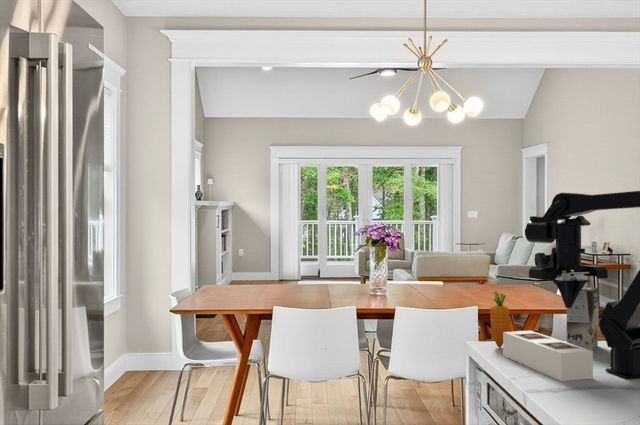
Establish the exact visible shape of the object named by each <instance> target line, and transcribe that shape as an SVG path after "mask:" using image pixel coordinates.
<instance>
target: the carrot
mask: <svg viewBox="0 0 640 425" xmlns="http://www.w3.org/2000/svg"><path fill="white" fill-rule="evenodd" d="M493 294H494V297H493V298H492V300H493V301H494V302H495V303H496V304H494V305H493V304H492V306H491V307H490V310H489V312H490V313H489V315H490V329H491V334H492V337H493V339H494V342H495V345H496V346H497V347H498V348H499V349H500V348H502V347H503V332H508V328H509V317H510V309H509V307H508V306H507V305H505V304H504V302H505V299H506V297H507V295H506V294H503V293H500V294H499V293H498V291H497V290H496V291H495V290H494V291H493ZM499 295H500V296H499Z"/></svg>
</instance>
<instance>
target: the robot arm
mask: <svg viewBox="0 0 640 425" xmlns="http://www.w3.org/2000/svg"><path fill="white" fill-rule="evenodd" d="M637 208H640V190H633V191H621V192H611V193H599V194H588V193H587V194H586V193H577V192H576V193H575V192H559V193H556V194H555V195H554V197H553V198H552V201H551V204H550V206H549V207H548V209H547V210H546V212H545V213H544V214H543V216H537V215H536V216H533V215H532V216H531V215H530V216H529V221H528V222H527V223H526V226H525V228H524V235H525V238H526V241H528V242H529V243H539V244H540V243H543V244H553V243H554V242H555V247H551V253H550V254H545V252H537V253H535V254H534V264H535V265H534V266H531V267H530V268H529V270H528V278H529V279H535V280H540V281H541V280H542V281H549V282H552V283H554V284H555V286H556V288H557V289H558V292H559V294H560V296H561V299H562V301H563V304H564V306H565V308H566V309H567V308H571V307H572V305H573V304H574V302H575V300H576V298H577V296H578V294H579V292H580V291H581V289H582V288H583V287H585V285H586V283H589V280H588V279H585V277H596V278H597V279H609V271H608V270H609V269H607V267H606V266H604V265H603V266H602V265H594V264H588V265H587V264H586V265H585V264H584V265H583V264H582V254H585V253H586V248H582V226H583V227H584V226H590V225H591V222H590V221H589V220H587V219H586V217H585V216H584V215H585V214H590V213H592V212H596V211H604V210H606V211H608V210H620V209H621V210H623V209H637ZM572 217H575V218H572ZM559 221H561V222H559ZM599 318H600V319H599ZM598 319H599V320H598V328H599V330H600V332H601V334H602V336H604V339H605V342H606V345H607V347H608V348H611V349H610V356H609V357H610V359H609V360H610V361H609V363H610V367H608V368H605V372H608V373H610V374H613V375H616V376H619V377H620V378H621V377H622V378H624V379H637V378H640V269H639V270H638V272H637V273H636V275H635V276H634V278H633V280H632V281H631V283H630V285H629V287H627V289H626V291H625V293H624V294H623V296H622V298H621V299H620V300H619V299H618V300H615V301H609V302H607V303H606V304H605V307H604V309H603V312H602V313H601V314H598Z"/></svg>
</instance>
